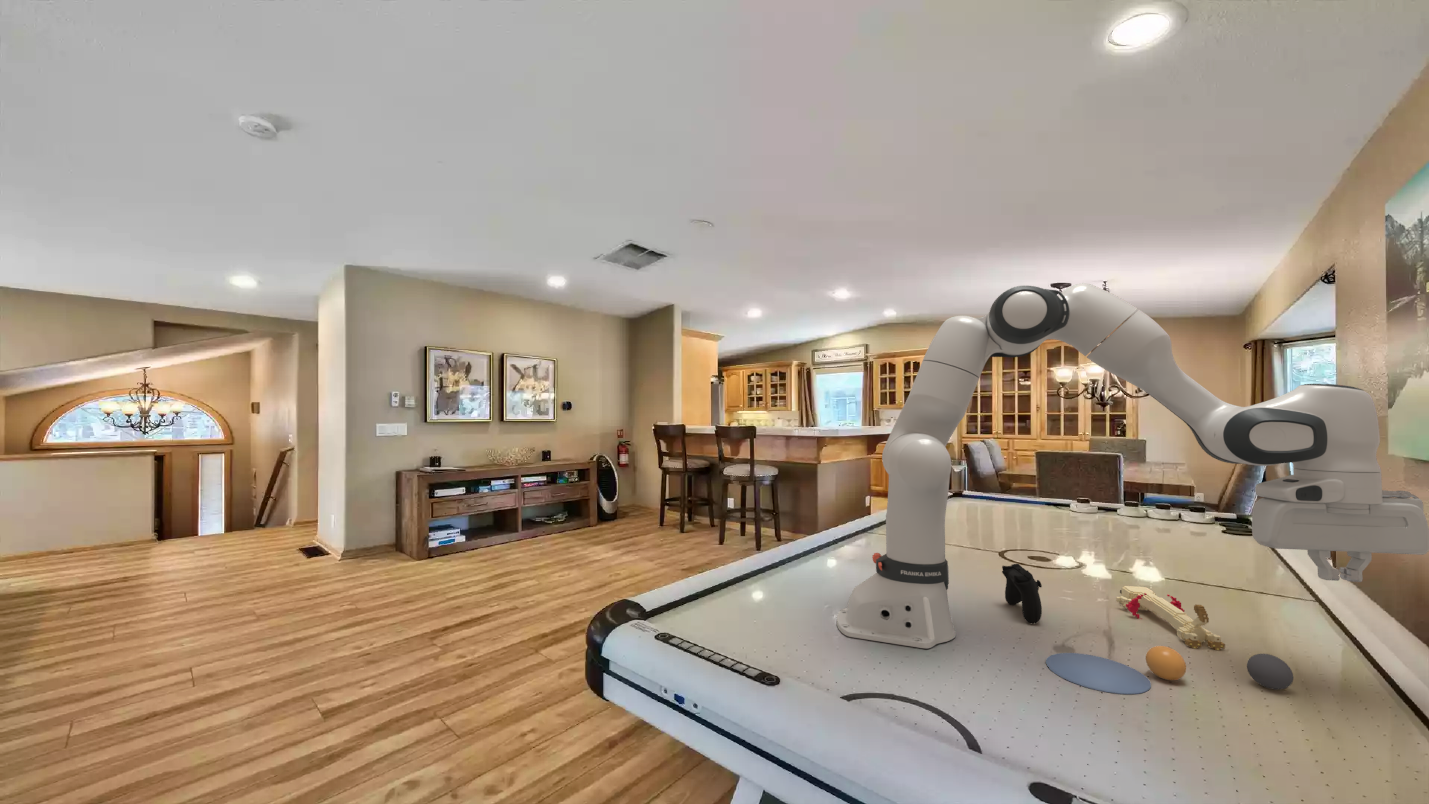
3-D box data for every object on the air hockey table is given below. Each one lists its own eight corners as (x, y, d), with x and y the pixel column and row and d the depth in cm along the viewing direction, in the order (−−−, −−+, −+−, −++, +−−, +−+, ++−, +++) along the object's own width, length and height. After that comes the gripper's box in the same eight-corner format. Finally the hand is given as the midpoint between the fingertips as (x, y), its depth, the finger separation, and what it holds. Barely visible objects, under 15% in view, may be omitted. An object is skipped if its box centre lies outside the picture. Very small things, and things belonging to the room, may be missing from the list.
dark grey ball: (1263, 694, 81) (1262, 660, 81) (1238, 678, 86) (1237, 646, 86) (1303, 697, 80) (1302, 663, 80) (1276, 681, 85) (1274, 649, 85)
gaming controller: (1053, 627, 107) (1051, 577, 107) (1020, 625, 108) (1019, 575, 108) (1026, 604, 121) (1025, 559, 121) (997, 602, 122) (997, 558, 122)
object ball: (1157, 684, 84) (1156, 652, 84) (1139, 670, 89) (1138, 639, 89) (1194, 687, 83) (1193, 655, 83) (1174, 673, 87) (1173, 642, 88)
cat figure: (1238, 659, 96) (1152, 601, 120) (1239, 612, 95) (1153, 563, 120) (1174, 655, 98) (1103, 599, 122) (1175, 608, 97) (1104, 561, 122)
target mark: (1067, 689, 82) (1067, 687, 82) (1033, 650, 96) (1033, 649, 96) (1172, 698, 79) (1172, 697, 79) (1121, 658, 93) (1121, 656, 93)
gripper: (1398, 488, 83) (1402, 578, 82) (1243, 485, 87) (1246, 570, 86) (1444, 493, 77) (1449, 591, 76) (1275, 489, 81) (1278, 582, 80)
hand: (1339, 580), depth 81 cm, fingers closed
